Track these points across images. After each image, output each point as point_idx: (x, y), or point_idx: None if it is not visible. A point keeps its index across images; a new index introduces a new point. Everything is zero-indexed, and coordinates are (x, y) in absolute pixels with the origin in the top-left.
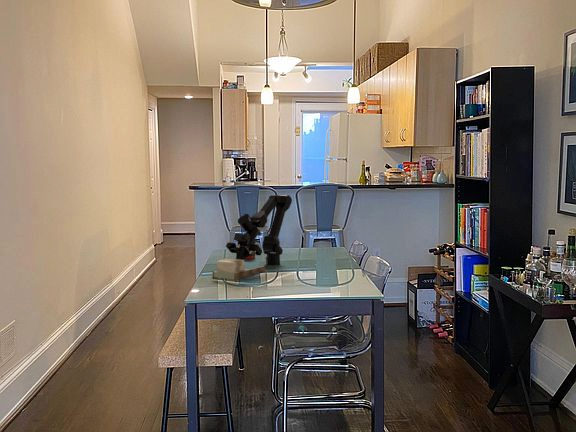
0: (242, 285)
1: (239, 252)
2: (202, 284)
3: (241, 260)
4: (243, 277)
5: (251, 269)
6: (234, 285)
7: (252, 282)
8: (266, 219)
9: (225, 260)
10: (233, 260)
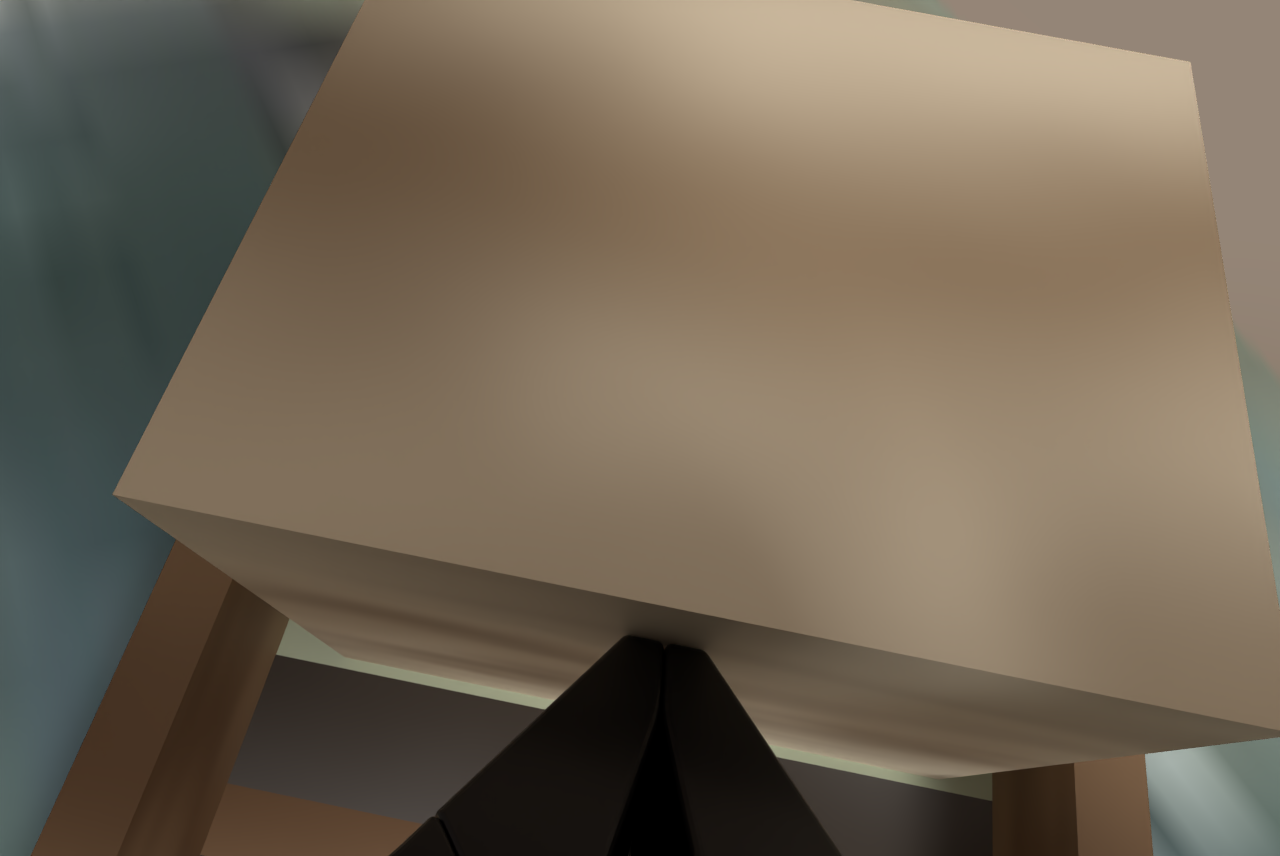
0: (182, 54)
1: None
2: (884, 5)
3: (228, 333)
4: None
5: (67, 849)
6: (329, 33)
7: (31, 270)
8: None
9: (971, 201)
10: (630, 267)
